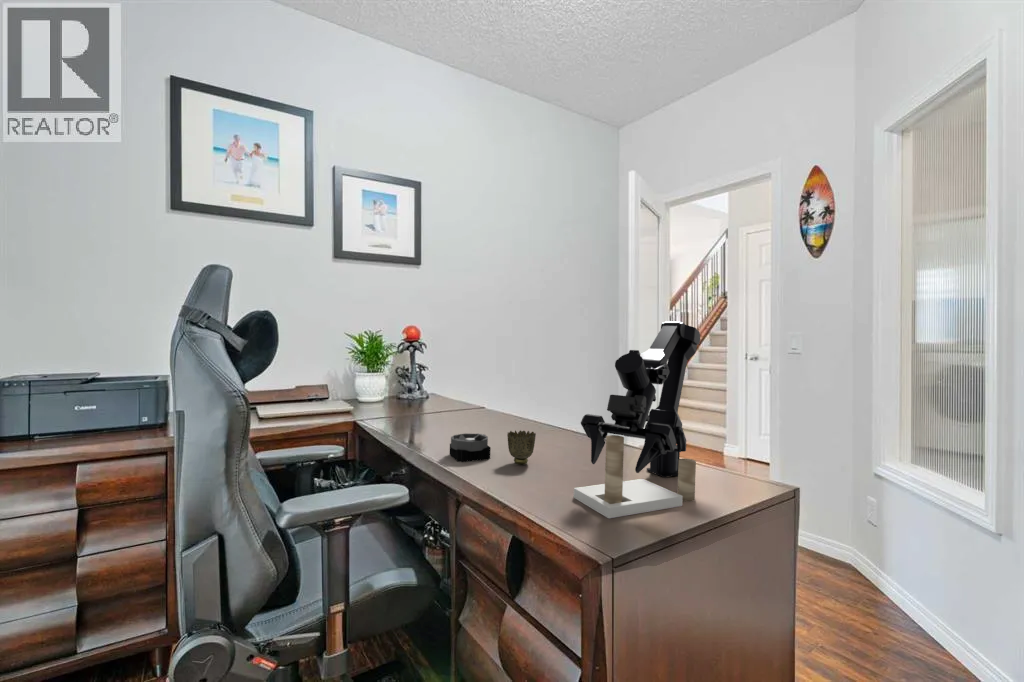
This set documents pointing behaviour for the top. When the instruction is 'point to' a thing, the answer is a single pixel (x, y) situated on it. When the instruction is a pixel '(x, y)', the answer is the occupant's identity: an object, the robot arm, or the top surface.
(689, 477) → the short pin
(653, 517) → the top surface
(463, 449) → the cpu cooler
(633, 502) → the hole plate
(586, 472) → the top surface
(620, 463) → the long pin
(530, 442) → the cup
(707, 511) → the top surface
